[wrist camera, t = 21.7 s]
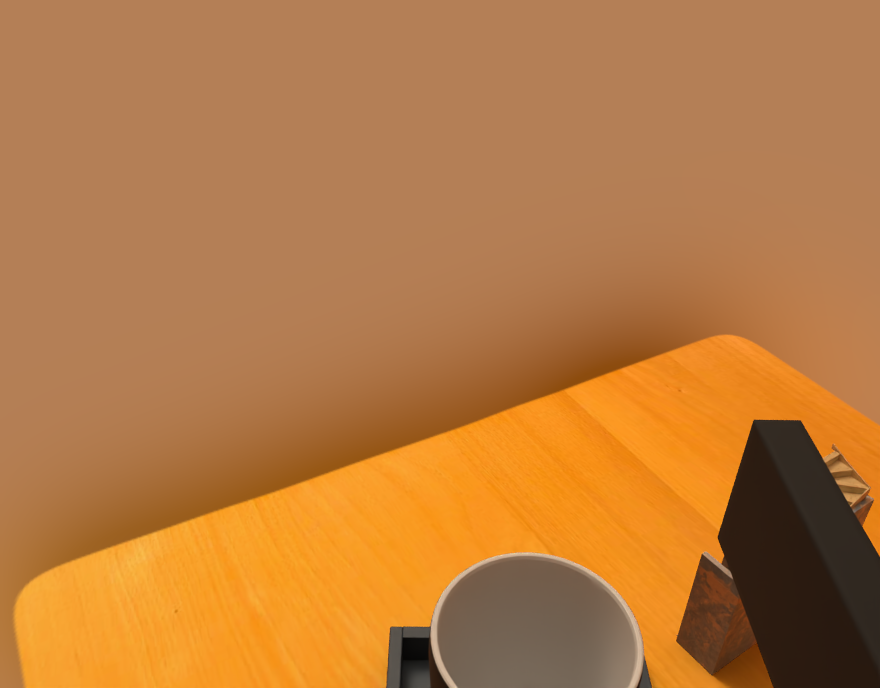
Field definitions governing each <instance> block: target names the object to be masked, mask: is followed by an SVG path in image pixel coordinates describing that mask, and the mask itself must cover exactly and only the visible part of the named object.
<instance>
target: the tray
mask: <svg viewBox="0 0 880 688" xmlns="http://www.w3.org/2000/svg"><path fill="white" fill-rule="evenodd" d="M429 634H430V627H390V638H389V654H388V670H387V687H386V688H431V687H430V672H429ZM639 688H652V686H651V682H650V678H649V674H648V669H647V665H646V661H645V657H644V667H643V673H642V679H641V683H640V687H639Z"/></svg>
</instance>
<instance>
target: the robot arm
mask: <svg viewBox="0 0 880 688" xmlns="http://www.w3.org/2000/svg"><path fill="white" fill-rule="evenodd" d="M718 540H719V543H720V545H721V548H722V551H723V553H724V556H725V559H726V561H727V564H728V567H729V569H730V572H731V575H732V577H733V580H734V583H735V585H736V588H737V591H738V593H739V596H740V599H741V601H742V604H743V607H744V609H745V612H746V615H747V617H748V620H749V623H750V625H751V628H752V631H753V633H754V636H755V639H756V641H757V644H758V647H759V649H760V652H761V655H762V657H763V660H764V663H765V665H766V668H767V671H768V673H769V676H770V679H771V681H772V684H773V687H774V688H880V557H879V555H878V553H877V551H876V550H875V548H874V546H873V545H872V543H871V541H870V539H869V538H868V536H867V534H866V532H865V531H864V529H863V527H862V526H861V524H860V522H859V520H858V519H857V517H856V515H855V513H854V512H853V510H852V508H851V507H850V505H849V503H848V501H847V500H846V498H845V496H844V494H843V493H842V491H841V489H840V488H839V486H838V484H837V482H836V481H835V479H834V477H833V475H832V474H831V472H830V470H829V469H828V467H827V465H826V463H825V462H824V460H823V458H822V456H821V455H820V453H819V451H818V450H817V448H816V446H815V444H814V443H813V441H812V439H811V437H810V436H809V434H808V432H807V431H806V429H805V427H804V425H803V424H802V422H801V421H799V420H754V421H753V424H752V427H751V430H750V434H749V437H748V440H747V443H746V447H745V450H744V453H743V456H742V460H741V463H740V466H739V469H738V473H737V476H736V479H735V482H734V486H733V489H732V492H731V495H730V499H729V502H728V505H727V509H726V512H725V515H724V518H723V522H722V525H721V528H720V531H719V535H718Z"/></svg>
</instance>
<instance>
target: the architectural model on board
mask: <svg viewBox="0 0 880 688" xmlns="http://www.w3.org/2000/svg"><path fill="white" fill-rule="evenodd" d="M832 449H833V450H835V451H834V452H833V453H831V454H829V455H828V456H826V457H824V458H823V460H824V462H825V463H826V465H827V467H828V469H829V470H830V472H831V474H832V475H833V477H834V479H835V481H836V482H837V484H838V486H839V488H840V489H841V491H842V493H843V494H844V496H845V498H846V500H847V501H848V503H849V505H850V507H851V508H852V510H853V512H854V513H855V515H856V517H857V519H858V520H859V522H860V524H861V526H863V523H864V521H865V519H866V517H867V514H868V512H869V510H870V508H871V506H872V503H873V501H874V499H873V498H871V497H870V496H868V493H869V491H870V489H871V487H870V486H869V485H868V484H867V483H866V482H865V481H864V479H863V478H862V477H861V476H860V475H859V474H858V473H857V472H856V471H855V470H854V468H853V467H852V466H851V465H850V463H849V462H848V461H847V460H846V458H845V457H844V456H843V455H842V453H841V452H840V451H839V450H838V448H837V447H836V446H835V445H834V444H833V445H832ZM677 636H678V637H677V640H676V641H677V642H678V643H679V644H680V645H681V646H682V647H683V648H684V649H685V650H686V651H687V652H688V653H689V654H690V655H691V656H692V657H693V658H694V659H695V660H696V661H698V662H699V663H700V664H701V665H702V666H703V667H704V668H705V669H706V670H707V671H708V672H709V673H710V674H711V675H713V674H714V673H716V672H717V671H719V670H720V669H721V668H723V667H724V666H725V665H727V664H728V663H729V662H731V661H732V660H734V659H735V658H736V657H738V656H739V655H740V654H742V653H743V652H745V651H746V650H747V649H749V648H750V647H751V646H753V645H754V644H755V643H757V641H756V639H755V636H754V633H753V631H752V628H751V625H750V623H749V620H748V617H747V615H746V612H745V609H744V607H743V604H742V601H741V599H740V596H739V593H738V591H737V588H736V585H735V583H734V580H733V577H732V575H731V572H730V569H729V567H728V564H727V561H726V559H725V556H724V558H723V561H722V564H721V563H719V562H718V561H717V560H716V559H715V558H713V557H712V556H711V555H710V554H709V553H707V552H704V553H703V554H702V556H701V559H700V563H699V566H698V569H697V573H696V576H695V579H694V583H693V586H692V589H691V593H690V596H689V600H688V603H687V606H686V610H685V613H684V616H683V620H682V623H681V626H680V630H679V633H678V635H677Z"/></svg>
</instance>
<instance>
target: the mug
mask: <svg viewBox="0 0 880 688" xmlns="http://www.w3.org/2000/svg"><path fill="white" fill-rule="evenodd" d="M643 667H644V647H643V640H642V635H641V632H640V629H639V626H638V623H637V621H636V619H635V616H634V615H633V613H632V611H631V609H630V608H629V606H628V605H627V603H626V602H625V600H624V599H623V598H622V597H621V596H620V594H619V593H618V592H617V591H616V590H615V589H614V588H613V587H612V586H611V585H610V584H608V583H607V582H606V581H605V580H604V579H602V578H601V577H600V576H598V575H597V574H595V573H594V572H592V571H590V570H589V569H587V568H585V567H583V566H581V565H579V564H577V563H574V562H572V561H569V560H566V559H564V558H560V557H556V556H553V555H547V554H541V553H527V552H525V553H510V554H504V555H499V556H495V557H492V558H488V559H486V560H483V561H481V562H479V563H476V564H474V565H473V566H471V567H469V568H468V569H466V570H465V571H463V572H462V573H461V574H459V575H458V576H457V577H456V578H455V579H454V580H453V581H452V582H451V583H450V584H449V585H448V586H447V588H446V589H445V590H444V592H443V593H442V595H441V597H440V598H439V600H438V602H437V605H436V607H435V610H434V613H433V616H432V620H431V626H430V634H429V672H430V687H431V688H639V687H640V683H641V679H642V673H643Z"/></svg>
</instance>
